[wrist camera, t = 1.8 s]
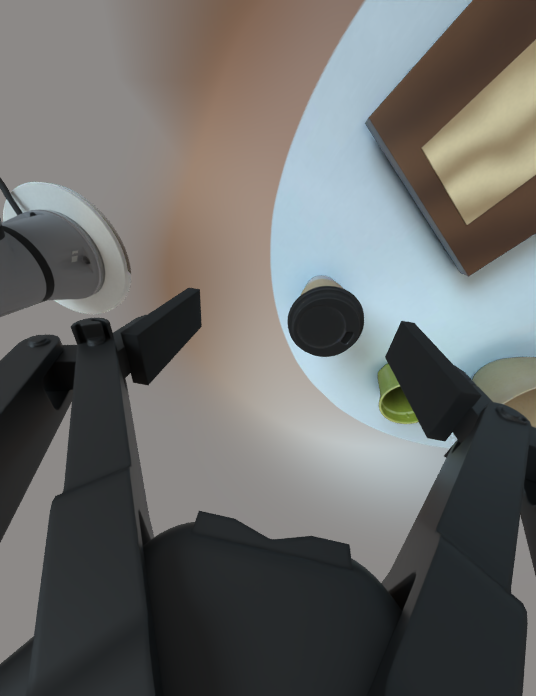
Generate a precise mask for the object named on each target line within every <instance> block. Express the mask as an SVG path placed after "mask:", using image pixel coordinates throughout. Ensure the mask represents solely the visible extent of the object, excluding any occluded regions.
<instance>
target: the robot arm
mask: <svg viewBox="0 0 536 696" xmlns="http://www.w3.org/2000/svg"><path fill="white" fill-rule="evenodd" d="M0 189H1V190H2V192H3V194H4V196H5V197H6V199H7V201H8V202H9V204H10V205H11V207H12V208H13V210H14V211H15V213H16V214H17V216H15V217H13V218H11V219H9V220H6V221H4V222H2V223H1V219H0V317H2V316H5V315H7V314H10V313H13V312H16V311H19V310H21V309H24V308H27V307H30V306H33V305H35V304H38V303H41V302H43V301H47V300H66V299H83V298H87V297H89V296H92V295H94V294H96V293H97V292H99V291H100V289H101V288H102V286H103V284H104V281H105V266H104V262H103V259H102V256H101V254H100V251H99V249H98V248H97V246H96V244H95V243H94V241H93V240H92V238H91V237H90V236H89V234H88V233H87V232H86V231H85V230H84V229H83V228H82V227H81V226H80V225H79V224H78V223H76V222H75V221H74V220H72V219H71V218H69V217H68V216H66V215H64V214H62V213H59V212H56V211H53V210H31V211H27V212H24V213H23V212H22V211H21V209H20V208H19V206H18V205H17V203H16V202H15V200H14V199H13V197H12V195H11V193H10V192H9V190H8V188H7V187H6V185H5V183H4V182H3V181H2V179H1V178H0ZM200 328H201V307H200V289H194V288H187V289H186V290H185V291H183V292H182V293H180V294H178V295H177V296H175V297H174V298H172V299H171V300H169V301H168V302H166V303H165V304H163V305H162V306H160V307H159V308H157V309H156V310H154V311H153V312H151V313H149V314H148V315H144V316H141V317H138V318H136V319H134V320H133V321H131V322H130V323H128V324H126V325H125V326H123V327H121V328H120V329H119V330H117V331H115V332H114V333H112V329H111V326H110V322H109V321H108V320H107V319H104V318H88V319H83V320H80V321H77V322H76V323H74V324H73V325H72V326H71V329H72V332H73V334H74V337H75V339H76V342H77V345H62V343H61V341H60V339H59V337H58V336H54V335H36V336H32V337H30V338H28V339H25V340H23V341H21V342H20V343H18V345H16V346H15V347H14V348H13V349H12V350H11V351H10V352H9V353H8V354H7V355H6V356H5V357H4V358H3V359H2V360H1V361H0V542H1V540H2V538H3V536H4V534H5V532H6V530H7V528H8V526H9V524H10V522H11V520H12V518H13V516H14V514H15V512H16V510H17V508H18V507H19V505H20V502H21V501H22V499H23V497H24V495H25V493H26V491H27V489H28V487H29V485H30V483H31V481H32V479H33V477H34V475H35V473H36V471H37V469H38V467H39V465H40V463H41V461H42V459H43V457H44V455H45V453H46V451H47V449H48V447H49V445H50V443H51V441H52V439H53V437H54V435H55V433H56V431H57V429H58V427H59V426H60V424H61V422H62V420H63V418H64V416H65V414H66V412H67V410H68V408H69V406H70V404H71V402H72V408H71V418H70V429H69V440H68V452H67V463H66V473H65V483H64V491H63V493H62V494H60V495H57V496H55V498H54V500H53V501H52V505H51V510H50V516H49V525H48V532H47V539H46V547H45V555H44V563H43V571H42V578H41V587H40V594H39V602H38V610H37V617H36V625H35V633H34V637H32V638H31V639H30V640H29V641H28V642H26V643H25V644H24V645H23V646H21V647H20V648H19V649H18V650H17V651H16V652H14V653H13V654H12V655H11V656H10V657H8V658H7V659H6V660H5V661H3V662H2V663H1V664H0V696H522V693H523V679H524V665H525V650H526V637H527V611H526V609H525V607H524V605H523V603H522V602H521V601H519V600H518V599H517V598H516V597H515V596H514V595H512V594H511V584H512V575H513V568H514V560H515V551H516V544H517V536H518V527H519V520H520V515H521V519H522V523H523V526H524V530H525V534H526V539H527V543H528V546H529V550H530V555H531V559H532V563H533V567H534V571H535V575H536V428H535V427H532V426H531V423H530V421H529V420H528V419H527V418H526V417H525V416H524V415H522V414H521V413H520V412H518V411H516V410H515V409H513V408H511V407H509V406H506V405H504V404H500V403H496V402H493V401H492V400H491V399H490V398H489V397H488V396H487V395H486V394H485V393H484V392H483V391H482V390H481V389H480V388H479V387H478V386H476V384H475V383H474V382H473V381H472V380H471V379H470V377H469V376H468V375H467V374H466V373H465V372H463V371H462V370H460V369H459V368H457V367H456V366H454V365H453V364H452V363H451V362H450V361H449V360H448V359H447V358H446V357H445V355H444V354H443V353H442V352H441V351H440V350H439V349H438V348H437V347H436V346H435V345H434V344H433V343H432V342H431V340H430V339H429V338H428V337H427V336H426V335H425V334H424V333H423V332H422V331H421V330H420V329H419V328H418V327H417V326H416V324H415V323H411V322H405V321H401V323H400V325H399V328H398V330H397V332H396V334H395V337H394V339H393V341H392V343H391V345H390V348H389V350H388V352H387V354H386V356H385V358H386V360H387V362H388V364H389V366H390V368H391V369H392V371H393V373H394V375H395V377H396V379H397V381H398V383H399V385H400V387H401V389H402V390H403V392H404V394H405V396H406V398H407V400H408V402H409V404H410V406H411V408H412V410H413V412H414V413H415V415H416V417H417V419H418V421H419V423H420V425H421V427H422V429H423V431H424V433H425V435H426V436H427V438H430V439H435V440H441V441H446V440H447V438H448V437H449V436H450V435H451V433H452V432H453V433H454V435H455V436H456V438H457V439H458V440H457V441H456V442H455V443H454V445H453V446H452V447H451V448H450V449H449V451H448V452H447V453H446V454H445V455H444V456H445V457H446V460H445V462H444V464H443V466H442V468H441V470H440V473H439V474H438V476H437V478H436V480H435V482H434V484H433V486H432V488H431V490H430V492H429V494H428V496H427V498H426V500H425V503H424V504H423V506H422V508H421V510H420V512H419V514H418V516H417V518H416V520H415V522H414V524H413V526H412V529H411V530H410V532H409V534H408V536H407V538H406V541H405V543H404V544H403V546H402V548H401V550H400V552H399V554H398V556H397V558H396V561H395V563H394V564H393V567H392V569H391V570H390V572H389V573H388V575H387V576H386V578H385V579H384V580H383V582H382V583H380V582H379V581H378V579H377V578H376V577H375V576H374V575H373V574H371V573H370V572H369V571H368V570H367V569H366V568H365V567H363V566H362V565H361V564H359V563H358V562H356V561H355V560H353V559H351V554H350V546H349V544H345V543H341V542H336V541H332V540H327V539H323V538H318V537H314V536H306V537H296V538H285V539H269V538H267V537H265V536H264V535H262V534H260V533H258V532H257V531H255V530H253V529H251V528H250V527H248V526H246V525H244V524H243V523H241V522H239V521H238V520H236V519H234V518H229V517H224V516H220V515H216V514H211V513H206V512H202V511H199V513H198V515H197V518H196V521H195V522H191V523H186V524H181V525H178V526H175V527H173V528H170V529H168V530H166V531H164V532H163V533H160V534H159V535H157V536H156V537H154V535H153V530H152V526H151V522H150V518H149V514H148V508H147V502H146V495H145V489H144V483H143V477H142V472H141V466H140V460H139V454H138V448H137V443H136V436H135V430H134V424H133V418H132V412H131V407H130V401H129V395H128V389H127V383H126V380H125V378H126V377H127V376H128V375H129V374H130V373H131V376H132V379H133V382H134V383H139V384H144V385H149V383H151V381H152V380H153V379H154V378H155V377H156V376H157V375H158V374H159V373H160V371H162V369H163V368H164V367H165V366H166V365H167V364H168V363H169V362H170V361H171V359H172V358H173V357H174V356H175V355H176V354H177V353H178V352H179V351H180V349H181V348H182V347H183V346H184V345H185V344H186V343H187V342H188V341H189V340H190V339H191V337H192V336H193V335H194V334H195V333H196V332H197V331H198V330H199V329H200Z"/></svg>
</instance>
